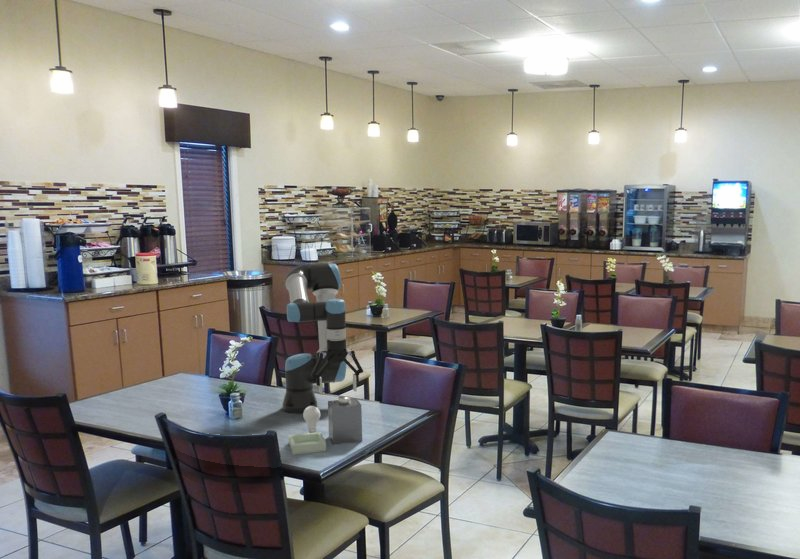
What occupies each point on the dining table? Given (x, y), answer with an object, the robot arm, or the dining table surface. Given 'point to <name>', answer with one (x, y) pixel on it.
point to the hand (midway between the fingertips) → (337, 392)
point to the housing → (345, 420)
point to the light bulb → (311, 418)
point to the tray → (307, 443)
